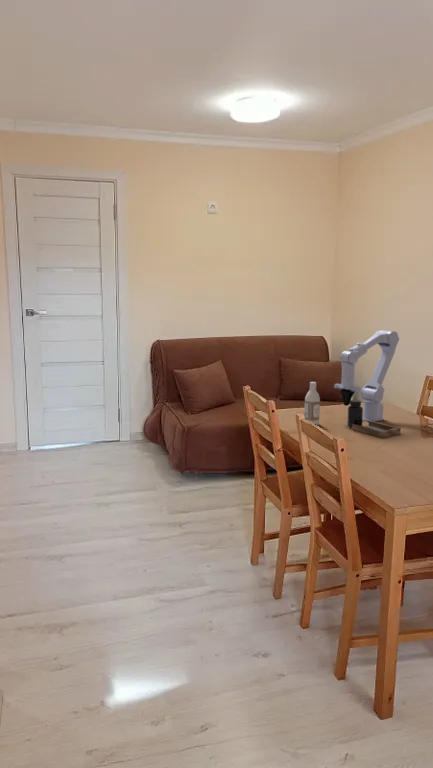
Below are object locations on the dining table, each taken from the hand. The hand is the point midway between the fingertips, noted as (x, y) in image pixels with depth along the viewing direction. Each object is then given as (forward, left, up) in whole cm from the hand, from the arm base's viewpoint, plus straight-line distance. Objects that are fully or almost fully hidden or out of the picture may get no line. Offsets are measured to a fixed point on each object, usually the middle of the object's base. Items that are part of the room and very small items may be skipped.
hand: (346, 405), depth 275 cm
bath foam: (+14, -9, -9) cm, 19 cm away
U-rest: (0, +17, -9) cm, 19 cm away
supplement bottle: (0, +5, -9) cm, 11 cm away
